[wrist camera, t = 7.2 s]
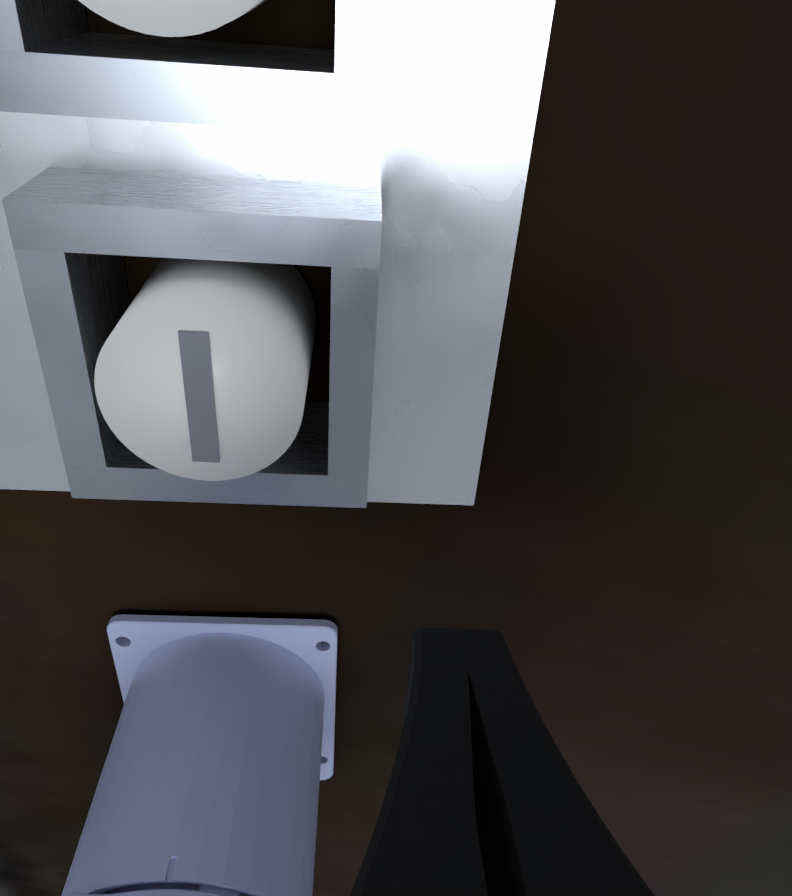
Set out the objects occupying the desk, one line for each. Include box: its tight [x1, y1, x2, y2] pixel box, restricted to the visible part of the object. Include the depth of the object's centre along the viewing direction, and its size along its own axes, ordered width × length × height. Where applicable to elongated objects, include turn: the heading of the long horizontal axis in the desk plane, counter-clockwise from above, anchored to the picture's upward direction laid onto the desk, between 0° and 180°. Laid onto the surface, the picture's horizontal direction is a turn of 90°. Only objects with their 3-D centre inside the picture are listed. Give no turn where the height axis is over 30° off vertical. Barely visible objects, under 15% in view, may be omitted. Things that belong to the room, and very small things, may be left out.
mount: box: [0, 0, 555, 508], centre depth 15 cm, size 20×14×4 cm
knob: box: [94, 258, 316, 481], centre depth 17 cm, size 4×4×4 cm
